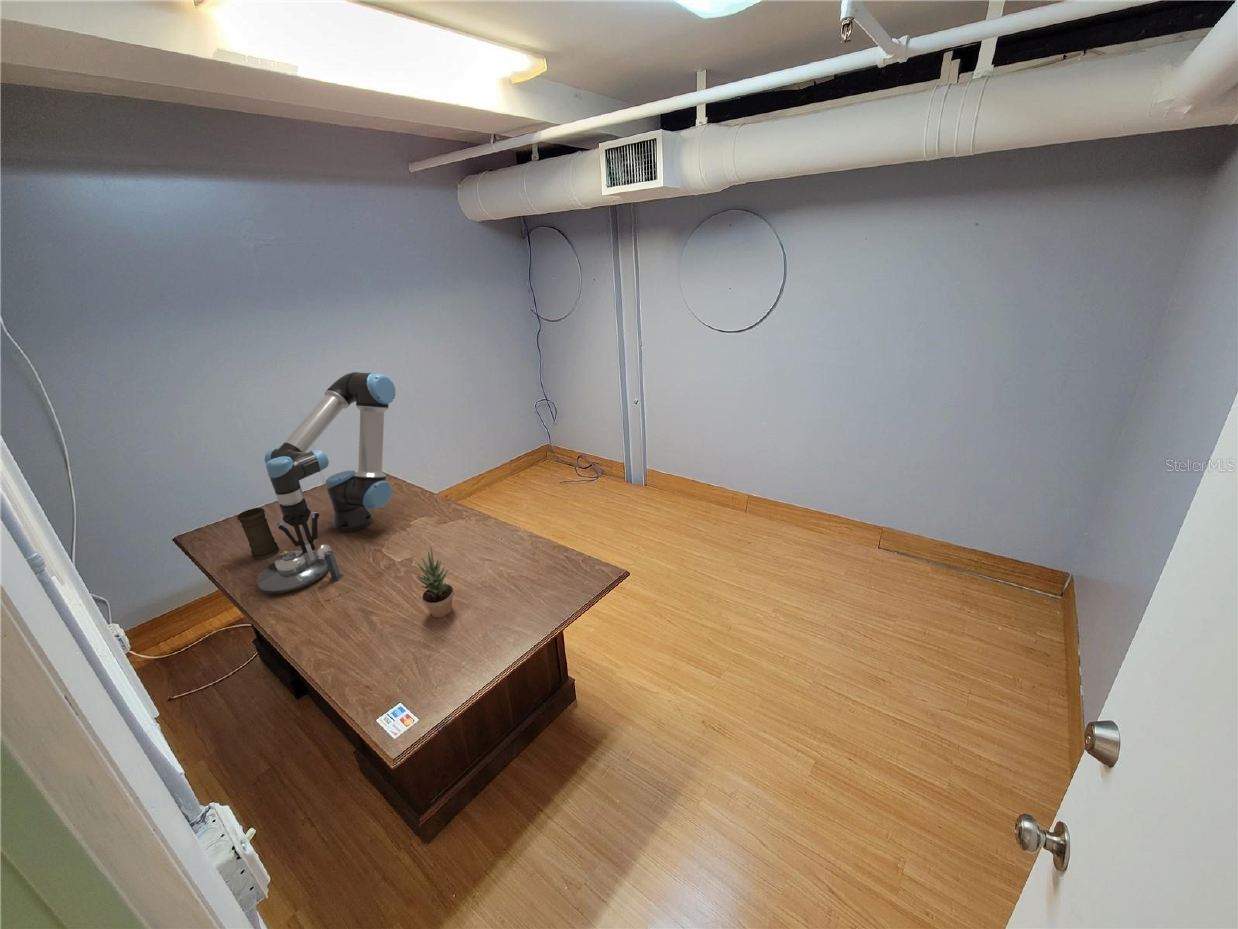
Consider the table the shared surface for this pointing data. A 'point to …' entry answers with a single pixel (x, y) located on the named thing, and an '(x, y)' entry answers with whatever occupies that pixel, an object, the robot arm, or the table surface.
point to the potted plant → (436, 588)
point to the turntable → (276, 584)
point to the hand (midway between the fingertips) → (311, 558)
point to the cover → (291, 563)
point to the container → (258, 533)
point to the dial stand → (329, 561)
